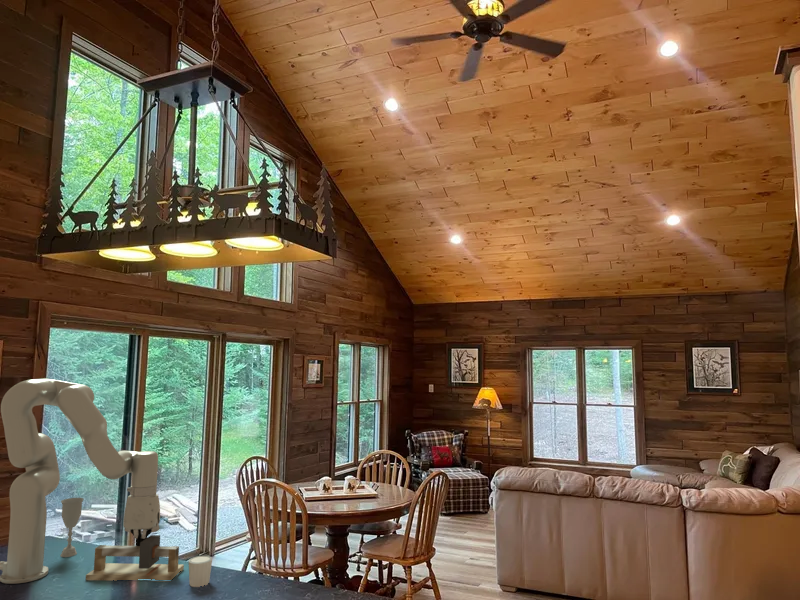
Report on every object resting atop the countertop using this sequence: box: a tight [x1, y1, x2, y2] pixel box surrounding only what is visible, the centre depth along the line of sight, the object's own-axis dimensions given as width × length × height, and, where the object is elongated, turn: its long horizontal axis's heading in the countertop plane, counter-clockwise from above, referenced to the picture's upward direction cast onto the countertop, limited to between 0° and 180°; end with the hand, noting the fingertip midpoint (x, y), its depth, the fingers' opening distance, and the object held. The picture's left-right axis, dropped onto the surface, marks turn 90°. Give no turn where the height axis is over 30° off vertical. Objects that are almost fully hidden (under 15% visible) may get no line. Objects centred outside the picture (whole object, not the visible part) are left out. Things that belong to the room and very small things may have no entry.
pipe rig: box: [85, 544, 185, 582], centre depth 179 cm, size 26×10×8 cm, turn 90°
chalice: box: [59, 497, 84, 558], centre depth 197 cm, size 7×7×18 cm
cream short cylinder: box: [188, 555, 213, 588], centre depth 173 cm, size 7×7×7 cm
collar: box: [138, 534, 161, 569], centre depth 179 cm, size 3×8×8 cm, turn 0°
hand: (140, 550), depth 182 cm, fingers closed
